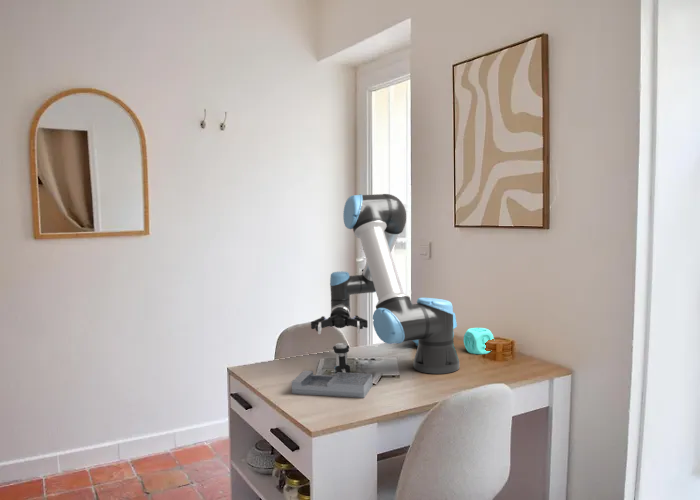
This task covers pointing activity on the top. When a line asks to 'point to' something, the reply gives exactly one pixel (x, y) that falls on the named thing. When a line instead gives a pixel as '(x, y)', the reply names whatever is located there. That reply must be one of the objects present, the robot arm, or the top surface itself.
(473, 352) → the decorative dice
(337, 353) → the push button
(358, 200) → the robot arm
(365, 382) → the grey recessed block
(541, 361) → the top surface
